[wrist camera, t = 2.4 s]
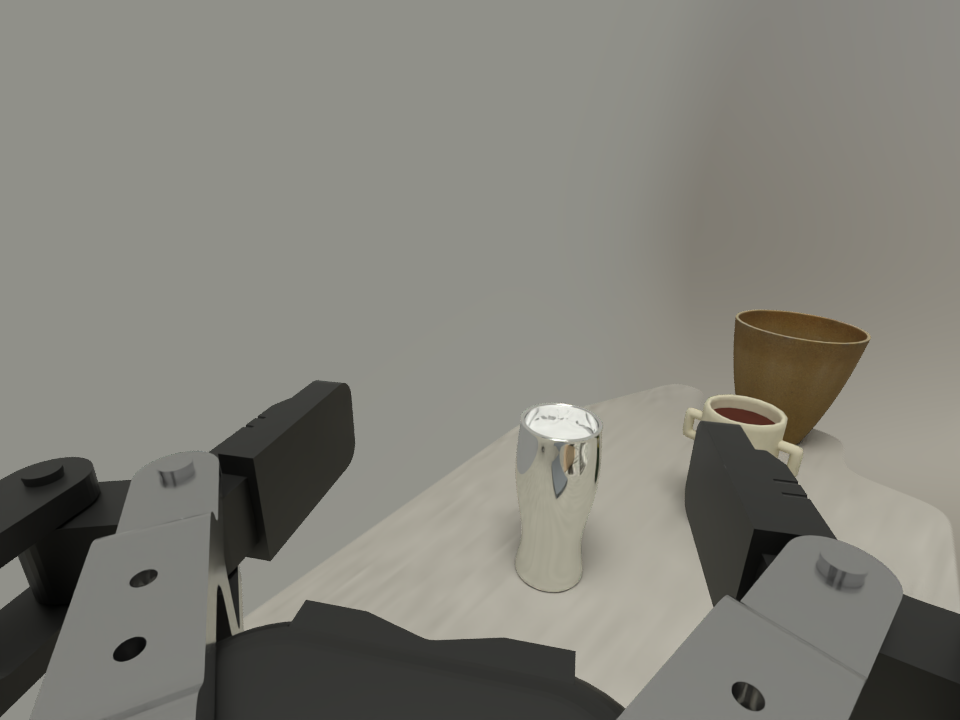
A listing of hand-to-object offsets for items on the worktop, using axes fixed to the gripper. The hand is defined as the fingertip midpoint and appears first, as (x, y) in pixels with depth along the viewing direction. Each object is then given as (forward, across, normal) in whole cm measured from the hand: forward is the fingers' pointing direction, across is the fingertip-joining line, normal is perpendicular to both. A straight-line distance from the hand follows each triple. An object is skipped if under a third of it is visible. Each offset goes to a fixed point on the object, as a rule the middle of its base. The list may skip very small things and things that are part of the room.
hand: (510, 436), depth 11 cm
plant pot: (+58, -29, +28) cm, 71 cm away
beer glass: (+26, -1, +28) cm, 38 cm away
